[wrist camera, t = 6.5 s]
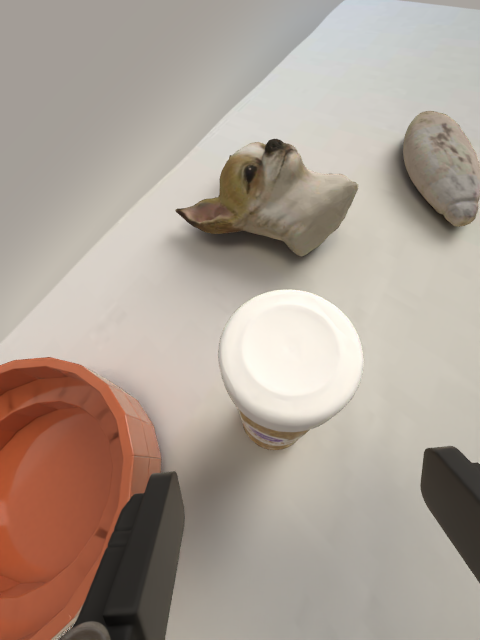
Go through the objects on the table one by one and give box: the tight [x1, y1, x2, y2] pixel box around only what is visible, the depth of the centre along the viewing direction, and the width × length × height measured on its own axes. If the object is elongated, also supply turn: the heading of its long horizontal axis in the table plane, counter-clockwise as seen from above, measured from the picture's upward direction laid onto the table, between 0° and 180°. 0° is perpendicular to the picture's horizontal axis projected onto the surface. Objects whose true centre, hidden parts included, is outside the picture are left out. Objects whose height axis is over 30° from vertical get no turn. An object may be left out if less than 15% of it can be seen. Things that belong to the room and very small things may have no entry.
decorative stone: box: [403, 111, 480, 226], centre depth 29 cm, size 6×16×3 cm, turn 1°
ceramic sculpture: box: [176, 139, 358, 256], centre depth 26 cm, size 11×9×15 cm
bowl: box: [0, 357, 161, 640], centre depth 17 cm, size 14×14×6 cm
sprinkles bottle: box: [218, 289, 364, 450], centre depth 15 cm, size 5×5×14 cm
